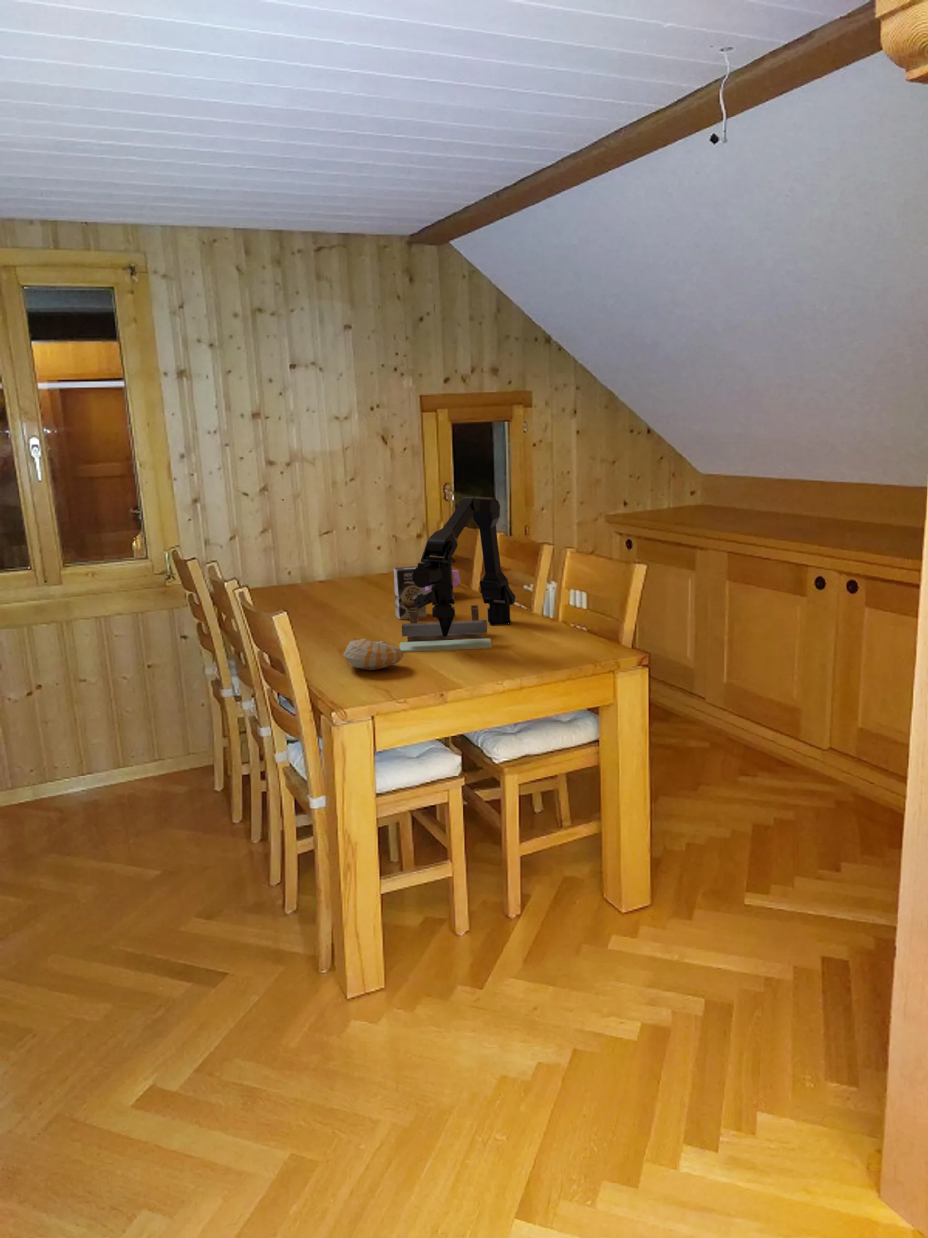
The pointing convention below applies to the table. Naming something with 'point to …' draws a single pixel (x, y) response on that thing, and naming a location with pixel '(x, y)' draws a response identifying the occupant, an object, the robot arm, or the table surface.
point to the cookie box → (406, 592)
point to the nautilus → (372, 654)
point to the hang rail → (435, 629)
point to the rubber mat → (445, 645)
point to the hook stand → (440, 637)
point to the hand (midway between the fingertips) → (445, 634)
